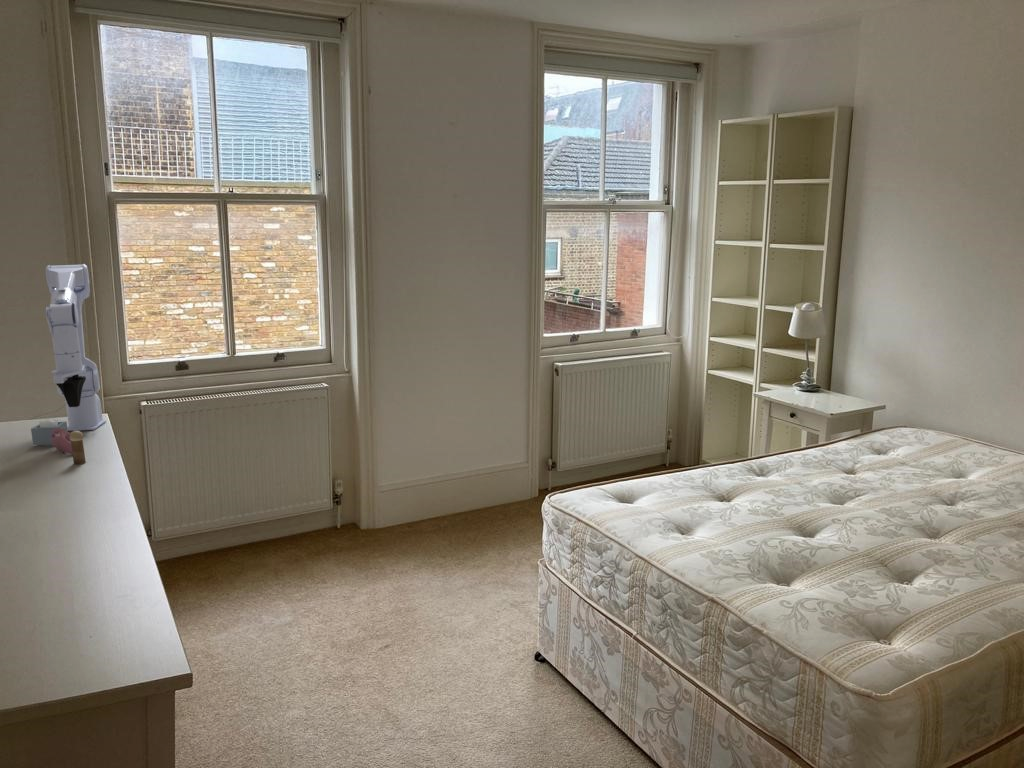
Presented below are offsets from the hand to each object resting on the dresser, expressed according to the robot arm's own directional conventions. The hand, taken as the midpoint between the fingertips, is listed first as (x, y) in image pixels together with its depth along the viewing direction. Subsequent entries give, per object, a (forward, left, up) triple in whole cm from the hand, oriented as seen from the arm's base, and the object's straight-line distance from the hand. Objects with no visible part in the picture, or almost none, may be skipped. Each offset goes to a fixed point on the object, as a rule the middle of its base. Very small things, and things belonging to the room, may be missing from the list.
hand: (74, 406), depth 205 cm
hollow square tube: (-1, -7, -9) cm, 12 cm away
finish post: (+19, +7, -9) cm, 23 cm away
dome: (-1, -7, -7) cm, 10 cm away
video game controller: (+8, 0, -10) cm, 12 cm away
